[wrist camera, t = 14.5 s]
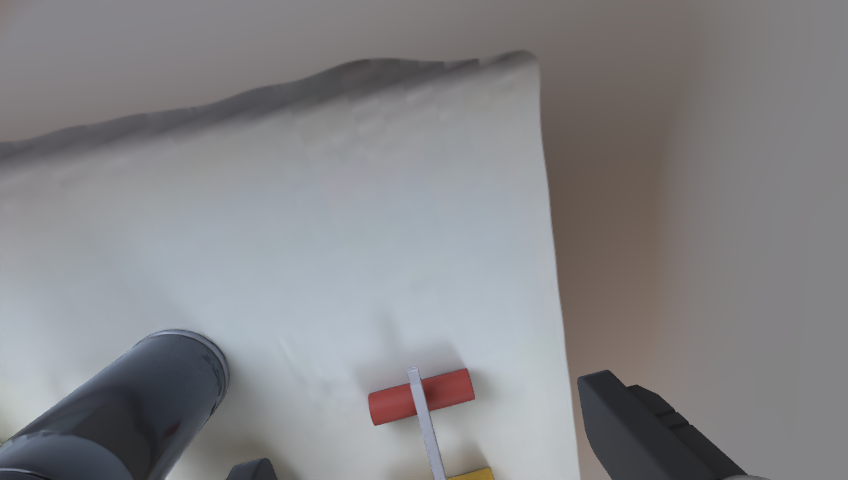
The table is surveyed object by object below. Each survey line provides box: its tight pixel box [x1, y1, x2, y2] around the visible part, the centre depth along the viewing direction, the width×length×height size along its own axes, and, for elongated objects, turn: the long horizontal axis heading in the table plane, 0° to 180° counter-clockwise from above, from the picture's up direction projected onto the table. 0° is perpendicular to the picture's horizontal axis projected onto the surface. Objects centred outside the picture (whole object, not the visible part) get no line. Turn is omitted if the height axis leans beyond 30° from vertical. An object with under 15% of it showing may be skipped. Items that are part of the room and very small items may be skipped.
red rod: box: [368, 368, 475, 426], centre depth 39 cm, size 10×3×3 cm, turn 104°
